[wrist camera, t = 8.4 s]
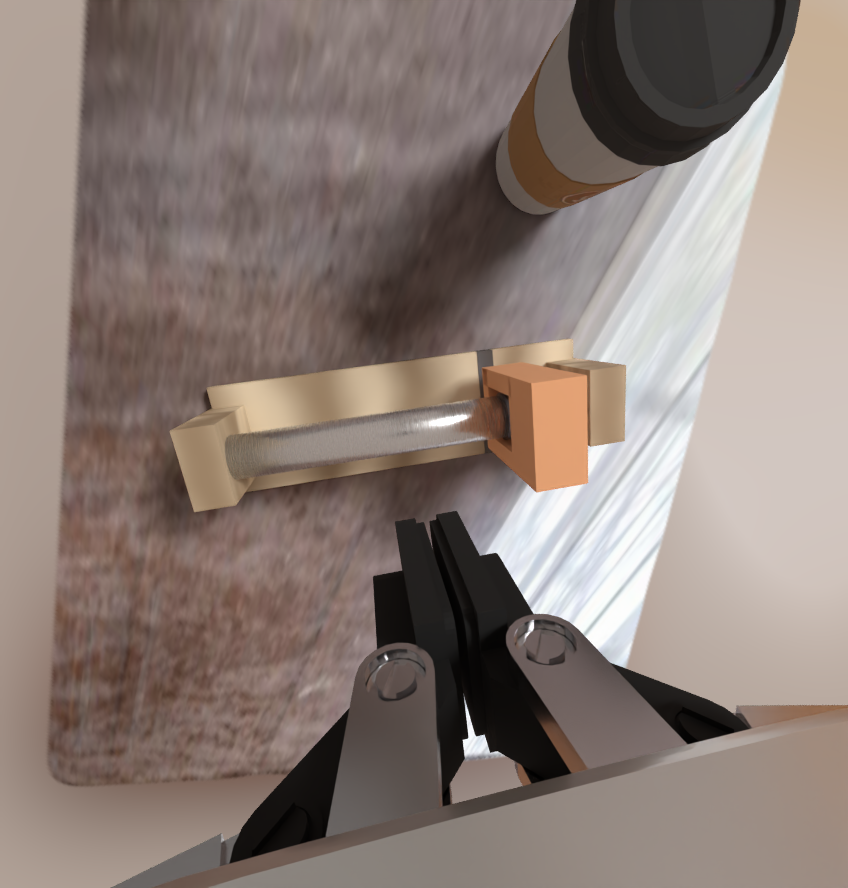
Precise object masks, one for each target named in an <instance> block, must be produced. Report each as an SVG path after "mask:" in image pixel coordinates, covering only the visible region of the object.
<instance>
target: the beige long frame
mask: <svg viewBox="0 0 848 888" xmlns="http://www.w3.org/2000/svg"><path fill="white" fill-rule="evenodd" d="M519 362H524V363H529V364H534V365H539V366H544V367H548V368H553V369H558V370H563V371H568V372H573V373H578V374H583V375H587V403H588V414H587V431H588V446H590V447H591V446H597V445H603V444H609V443H615V442H621V441H625V389H626V365H621V364H613V363H606V362H599V361H591V360H584V359H576V358H573V339H562V340H555V341H547V342H540V343H532V344H525V345H517V346H510V347H502V348H495V349H488V350H480V351H473V352H465V353H458V354H450V355H443V356H436V357H428V358H421V359H413V360H406V361H398V362H391V363H383V364H376V365H369V366H361V367H354V368H346V369H339V370H331V371H324V372H317V373H309V374H302V375H294V376H287V377H279V378H272V379H264V380H257V381H250V382H242V383H235V384H227V385H220V386H212V387H209V388H207V392H208V396H209V399H210V403H211V407H212V409H210V410H208V411H206V412H204V413H202V414H200V415H199V416H197V417H195V418H193V419H191V420H189V421H187V422H185V423H184V424H182V425H180V426H178V427H176V428H174V429H172V430H171V431H170V434H171V437H172V440H173V444H174V447H175V450H176V454H177V457H178V460H179V464H180V467H181V470H182V473H183V477H184V480H185V483H186V487H187V490H188V493H189V497H190V500H191V503H192V506H193V510H194V512H198V511H204V510H210V509H216V508H222V507H229V506H235V505H237V503H238V502H239V500H240V499H241V497H242V496H243V495H244V493H245V492H250V491H256V490H262V489H269V488H275V487H281V486H287V485H293V484H299V483H305V482H312V481H318V480H324V479H330V478H336V477H342V476H349V475H355V474H361V473H367V472H373V471H379V470H385V469H392V468H398V467H404V466H410V465H416V464H422V463H429V462H435V461H441V460H447V459H453V458H459V457H465V456H472V455H478V454H484V453H491V452H492V451H491V450H490V449H489V448H488V440H484V441H478V442H472V443H465V444H459V445H453V446H447V447H440V448H434V449H428V450H421V451H415V452H409V453H402V454H396V455H390V456H384V457H377V458H371V459H365V460H358V461H352V462H346V463H340V464H333V465H327V466H321V467H314V468H308V469H302V470H296V471H289V472H283V473H277V474H270V475H264V476H258V477H252V478H245V479H239V480H236V479H234V478H233V477H232V475H231V474H230V472H229V469H228V466H227V462H226V457H225V442H226V438H227V437H228V436H229V435H235V434H241V433H248V432H255V431H262V430H268V429H275V428H282V427H289V426H296V425H302V424H309V423H316V422H323V421H330V420H336V419H343V418H350V417H357V416H363V415H370V414H377V413H384V412H391V411H397V410H404V409H411V408H418V407H425V406H431V405H438V404H445V403H452V402H458V401H465V400H472V399H479V398H484V390H483V377H482V368H483V367H490V366H498V365H505V364H512V363H519Z"/></svg>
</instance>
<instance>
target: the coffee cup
mask: <svg viewBox="0 0 848 888" xmlns="http://www.w3.org/2000/svg"><path fill="white" fill-rule="evenodd" d="M799 6H800V0H576V4H575V7H574V9H573V11H572V13H571V14H570V16H569V18H568V20H567V21H566V23H565V25H564V27H563V28H562V30H561V31H560V33H559V34H558V35H557V36H556V38H555V39H554V41H553V43H552V44H551V46H550V48H549V50H548V52H547V53H546V55H545V57H544V59H543V60H542V62H541V64H540V66H539V68H538V69H537V71H536V73H535V75H534V77H533V78H532V80H531V82H530V84H529V86H528V87H527V89H526V91H525V93H524V95H523V96H522V98H521V100H520V102H519V104H518V106H517V107H516V109H515V111H514V113H513V115H512V118H511V120H510V122H509V124H508V126H507V127H506V129H505V131H504V133H503V135H502V137H501V139H500V141H499V145H498V149H497V153H496V171H497V176H498V181H499V184H500V186H501V188H502V190H503V193H504V194H505V196H506V197H507V198H508V199H509V201H510V202H511V203H512V204H513V205H515V206H516V207H517V208H519V209H520V210H521V211H524V212H527V213H530V214H541V215H544V214H547V213H551V212H554V211H556V210H559V209H561V208H564V207H568V206H571V205H574V204H576V203H579V202H581V201H583V200H586V199H588V198H590V197H593V196H595V195H597V194H600V193H602V192H604V191H607V190H609V189H611V188H614V187H616V186H618V185H621V184H623V183H626V182H628V181H630V180H633V179H635V178H636V177H638V176H639V175H641V174H642V173H644V172H646V171H648V170H651V169H653V168H655V167H658V166H665V165H668V164H672V163H676V162H679V161H683V160H686V159H687V158H689V157H691V156H692V155H694V154H695V153H697V152H699V151H700V150H702V149H704V148H705V147H707V146H708V145H709V144H710V143H711V142H712V141H714V140H716V139H717V138H719V137H720V136H722V135H724V134H725V133H727V132H728V131H729V130H730V129H731V128H732V127H733V126H734V125H735V124H736V123H737V122H738V121H739V120H740V119H741V118H742V117H743V116H744V115H745V114H746V112H747V111H748V110H749V108H750V107H751V105H752V104H753V103H754V102H755V101H756V100H757V98H758V97H759V96H760V95H761V94H762V93H763V92H764V91H765V90H766V89H767V88H768V86H769V85H770V83H771V82H772V80H773V78H774V77H775V75H776V74H777V72H778V70H779V69H780V67H781V66H782V64H783V62H784V59H785V57H786V54H787V52H788V49H789V46H790V44H791V41H792V38H793V36H794V33H795V27H796V22H797V17H798V12H799Z"/></svg>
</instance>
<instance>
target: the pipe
mask: <svg viewBox="0 0 848 888" xmlns="http://www.w3.org/2000/svg"><path fill="white" fill-rule="evenodd" d="M587 414H588V403H587ZM497 438H503V439H504V440H510V439H511V426H510V410H509V396H508V395H506V394H503V393H501V392H499V393H497V395H496V396H492V397H486V398H479V399H472V400H465V401H458V402H452V403H445V404H438V405H431V406H425V407H418V408H411V409H404V410H397V411H391V412H384V413H377V414H370V415H363V416H357V417H350V418H343V419H336V420H330V421H323V422H316V423H309V424H302V425H296V426H289V427H282V428H275V429H268V430H262V431H255V432H248V433H241V434H235V435H229V436H228V437H227V438H226V442H225V457H226V462H227V466H228V469H229V472H230V474H231V475H232V477H233V478H234V479H236V480H239V479H245V478H252V477H258V476H264V475H270V474H277V473H283V472H289V471H296V470H302V469H308V468H314V467H321V466H327V465H333V464H340V463H346V462H352V461H358V460H365V459H371V458H377V457H384V456H390V455H396V454H402V453H409V452H415V451H421V450H428V449H434V448H440V447H447V446H453V445H459V444H465V443H472V442H478V441H484V440H491V439H497Z"/></svg>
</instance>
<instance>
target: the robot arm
mask: <svg viewBox="0 0 848 888" xmlns="http://www.w3.org/2000/svg"><path fill="white" fill-rule="evenodd" d="M395 525H396V532H397V539H398V545H399V552H400V558H401V565H402V571H398V572H392V573H387V574H382V575H377V576H373V584H374V602H375V619H376V637H377V650H375V651H374V652H372V653H371V654H370V655H369V656H367V657H366V658H365V659H364V661H363V662H362V663H361V665H360V666H359V668H358V671H357V674H356V676H355V681H354V687H353V692H352V698H351V703H350V708H349V709H348V710H347V711H346V712H345V713H344V715H343V716H342V717H341V718H340V719H339V720H338V721H337V722H336V723H335V724H334V725H333V726H332V728H331V729H330V730H329V731H328V732H327V733H326V734H325V735H324V736H323V737H322V738H321V740H320V741H319V742H318V743H317V744H316V745H315V746H314V747H313V748H312V749H311V750H310V751H309V753H308V754H307V755H306V756H305V757H304V758H303V759H302V760H301V761H300V762H299V763H298V764H297V766H296V767H295V768H294V769H293V770H292V771H291V772H290V773H289V774H288V775H287V777H286V778H285V779H284V780H283V781H282V782H281V783H280V784H279V785H278V786H277V787H276V788H275V789H274V791H273V792H272V793H271V794H270V795H269V796H268V797H267V798H266V799H265V800H264V801H263V803H262V804H261V805H260V806H259V807H258V808H257V809H256V810H255V811H254V813H253V814H252V815H251V817H250V818H249V819H248V821H247V822H246V823H245V825H244V826H243V827H242V829H241V832H240V833H239V834H237V835H235V836H233V837H231V838H229V839H227V840H225V841H224V838H223V836H222V834H219V835H217V836H215V837H213V838H211V839H209V840H207V841H205V842H203V843H201V844H199V845H197V846H195V847H193V848H191V849H189V850H187V851H185V852H183V853H180V854H178V855H176V856H174V857H172V858H170V859H168V860H166V861H164V862H162V863H160V864H158V865H156V866H155V867H152V868H150V869H148V870H146V871H144V872H142V873H140V874H138V875H136V876H134V877H132V878H130V879H128V880H126V881H124V882H122V883H120V884H117V885H116V886H114V887H111V888H848V705H770V706H769V705H768V706H767V705H764V706H763V705H762V706H758V705H757V706H756V705H755V706H754V705H752V706H737V708H736V713H731V712H730V711H728V710H727V709H726V708H724V707H722V706H720V705H718V704H716V703H714V702H712V701H710V700H707V699H705V698H702V697H699V696H696V695H694V694H691V693H689V692H686V691H683V690H681V689H678V688H675V687H673V686H670V685H668V684H665V683H662V682H660V681H657V680H654V679H652V678H649V677H646V676H644V675H641V674H639V673H636V672H633V671H631V670H628V669H625V668H623V667H620V666H617V665H615V664H612V663H610V662H609V661H608V660H607V659H606V658H605V657H604V656H603V655H602V654H601V653H600V652H599V651H598V650H597V649H596V648H595V647H594V646H593V645H592V643H591V642H590V641H589V640H588V639H587V638H586V637H585V636H584V635H583V634H582V633H581V632H580V631H579V630H578V629H577V628H576V627H575V626H573V625H572V624H571V623H570V622H568V621H566V620H564V619H562V618H560V617H556V616H552V615H548V614H533V612H532V611H531V609H530V607H529V606H528V604H527V602H526V601H525V599H524V597H523V596H522V594H521V592H520V591H519V589H518V587H517V585H516V584H515V582H514V580H513V579H512V577H511V575H510V574H509V572H508V570H507V569H506V567H505V565H504V564H503V562H502V560H501V559H500V557H499V556H498V554H497V553H492V554H487V555H482V556H480V555H479V553H478V551H477V549H476V547H475V545H474V544H473V542H472V540H471V538H470V536H469V534H468V532H467V530H466V528H465V526H464V524H463V522H462V520H461V518H460V516H459V514H458V512H457V511H453V512H448V513H442V514H437V515H436V520H433V521H430V531H431V539H432V546H431V543H430V540H429V537H428V534H427V531H426V528H425V524H424V522H422V523H416V520H415V518H414V519H408V520H402V521H397V522H395ZM432 547H433V549H432ZM463 693H464V694H463ZM464 697H465V700H466V704H467V708H468V711H469V715H470V718H471V722H472V725H473V729H474V732H475V735H476V736H480V735H484V734H485V737H486V740H487V744H488V747H489V750H490V753H491V752H495V751H498V752H500V753H502V754H503V755H505V756H507V757H509V758H510V759H512V760H514V763H515V769H516V772H517V774H518V777H519V779H520V781H521V783H522V785H523V786H521V787H518V788H514V789H510V790H506V791H502V792H498V793H494V794H490V795H487V796H482V797H478V798H475V799H471V800H467V801H463V802H459V803H455V804H452V792H451V785H450V783H451V781H452V779H453V777H454V776H455V774H456V772H457V771H458V769H459V767H460V766H461V764H462V762H463V761H464V759H465V757H464V749H463V739H468V729H467V721H466V712H465V703H464Z"/></svg>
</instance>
